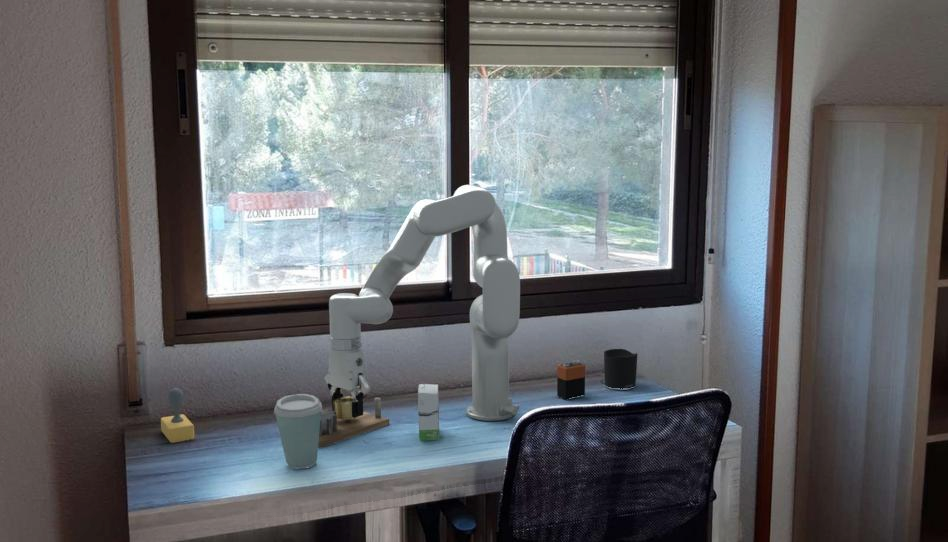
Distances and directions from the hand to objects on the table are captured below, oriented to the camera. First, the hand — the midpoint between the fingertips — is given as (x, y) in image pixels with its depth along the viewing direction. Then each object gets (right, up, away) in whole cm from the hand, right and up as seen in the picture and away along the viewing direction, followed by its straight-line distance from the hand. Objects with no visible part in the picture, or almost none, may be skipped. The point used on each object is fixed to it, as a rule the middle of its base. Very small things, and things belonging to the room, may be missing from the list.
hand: (347, 412), depth 235 cm
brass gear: (0, -1, 0) cm, 1 cm away
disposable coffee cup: (-7, -8, -25) cm, 27 cm away
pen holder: (+73, +2, +34) cm, 81 cm away
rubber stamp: (-41, -5, -4) cm, 42 cm away
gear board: (-2, -4, -2) cm, 5 cm away
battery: (+58, 0, +25) cm, 63 cm away
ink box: (+21, -5, -5) cm, 22 cm away
